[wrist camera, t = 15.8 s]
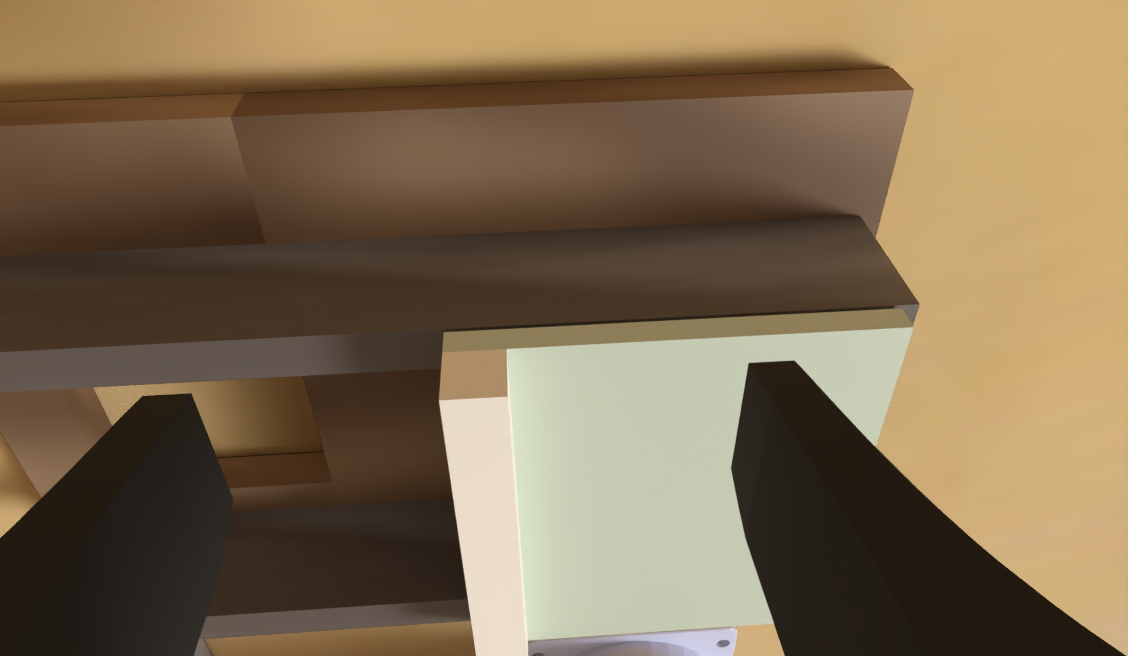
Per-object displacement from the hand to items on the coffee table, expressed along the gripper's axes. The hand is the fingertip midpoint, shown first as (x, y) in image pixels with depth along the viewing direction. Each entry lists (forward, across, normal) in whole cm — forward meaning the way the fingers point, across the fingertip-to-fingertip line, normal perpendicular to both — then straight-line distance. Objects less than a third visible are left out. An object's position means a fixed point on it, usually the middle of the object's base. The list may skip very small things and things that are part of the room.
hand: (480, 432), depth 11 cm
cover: (+5, -4, +7) cm, 9 cm away
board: (+9, +2, +7) cm, 12 cm away
